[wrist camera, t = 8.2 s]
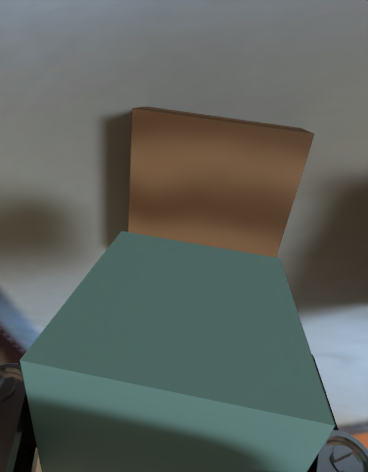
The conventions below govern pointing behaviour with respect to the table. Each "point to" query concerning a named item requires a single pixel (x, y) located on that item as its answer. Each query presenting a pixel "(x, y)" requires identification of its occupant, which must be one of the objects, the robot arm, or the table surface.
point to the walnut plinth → (213, 179)
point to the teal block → (176, 366)
